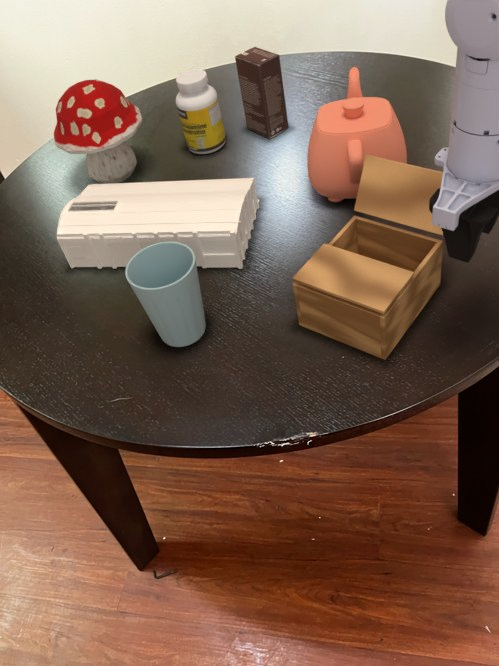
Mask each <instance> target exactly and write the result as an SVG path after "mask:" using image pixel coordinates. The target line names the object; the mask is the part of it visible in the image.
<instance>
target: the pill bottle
mask: <svg viewBox="0 0 499 666" xmlns="http://www.w3.org/2000/svg"><path fill="white" fill-rule="evenodd" d="M175 82H176V88H177V89H178V92H177V94H176V96H175V106H176V109H177V114H178V117H179V121H180V125H181V129H182V133H183V136H184V139H185V140H184V141H185V144H186V147H187V149H188V150H189V151H190V152H191V153H192V154H197V155H208V154H212V153H215V152H217V151H219V150H220V149H221V148H223V146H225V144H226V142H227V135H226V130H225V126H224V121H223V116H222V110H221V106H220V102H219V97H218V93H217V91H216V89H215V88H214V87H213V86H211V85H210V84H209V78H208V74H207V72H206V70H205V69H201V68H192V69H191V68H190V69H187V70H184V71H182V72H180V73H179V74H178V75H177V76H176V77H175Z"/></svg>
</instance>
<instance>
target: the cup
mask: <svg viewBox="0 0 499 666" xmlns="http://www.w3.org/2000/svg"><path fill="white" fill-rule="evenodd" d="M124 275H125V278H126V279H125V280H127V282H128V284H129V285H130V287H131V289H132V291H133V293H134V294H135V296H136V298H137V299H138V301H139V303H140V304H141V306H142V308H143V310H144V311H145V313H146V314H147V317H148V318H149V320H150V322H151V323H152V325H153V327H154V328H155V331H156V332H157V333H158V336H159V337H160V338H161V340H162V341H163V342H164V343H165V344H166V345H167V346H170V347H173V348H182V347H187V346H191V345H192V344H194V343H196V342H197V341H199V340H200V339H201V338H202V337H203V335H204V334H205V330H206V326H207V323H206V317H205V309H204V304H203V297H202V293H201V287H200V280H199V273H198V266H196V259H195V255H194V252H193V251H192V249H191V248H190V247H188V246H187V245H185V244H182V243H179V242H171V241H170V242H160V243H156V244H153V245H150V246H148V247H145V248H144V249H142V250H140V251H139V252H137V253H136V254H135V255H134V256H133V257H132V258H131V259H130V261H129V262H128V264H127V266H126V267H125V270H124Z"/></svg>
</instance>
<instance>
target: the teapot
mask: <svg viewBox="0 0 499 666" xmlns="http://www.w3.org/2000/svg"><path fill="white" fill-rule="evenodd" d="M360 78H361V77H360V71H359V69H358V67H356V66H353V67H351V68H350V70H349V73H348V84H347V85H348V86H347V93H346V98H345V99H339V100H334V101H330V102H328V103H325V104H323V105H322V106H321V107H319V109H318V112H317V113H316V117H315V120H314V123H313V126H312V130H311V132H310V137H309V142H308V148H307V157H306V158H307V161H306V162H307V165H306V166H307V175H308V180H309V182H310V185H311V186H312V187H313V190H315V191H316V192H317V193H318V194H319V195H321V196H323V197H327V199H328V201H330V202H332V203H338V202H341V201H343V200H344V199H346V200H347V199H352V200H353V199H357V194H358V189H359V185H360V180H361V175H362V171H363V166H364V161H365V157H366V155H371V156H375V157H379V158H384V159H388V160H392V161H397V162H401V163H405V164H408V153H407V152H408V151H407V145H406V139H405V136H404V132H403V129H402V127H401V124H400V121H399V119H398V117H397V114H396V112H395V110H394V108H393V106H392V105H391V103H390V101H389V100H388V99H386V98H384V97H379V96H363V92H362V87H361V81H360V80H361V79H360Z"/></svg>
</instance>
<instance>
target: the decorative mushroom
mask: <svg viewBox="0 0 499 666" xmlns="http://www.w3.org/2000/svg"><path fill="white" fill-rule="evenodd" d="M55 116H56V123H55V127H54V130H53V139H54V141H53V142H54V145H55V146H56V147H57V148H58V149H59V150H62V151H64V152H66V153H68V154H70V155H86V156H85V164H86V171H87V174H88V176H89V178H91V179H92V180H95V181H96V182H97V183H98V184H113V183H123V182H124V181H125V180H127V179H128V178H130V177H131V176H132V174H133V173H134V172H135V170H136V166H137V164H138V161H137V158H136V154H135V151H134V150H133V148H132V147H131V146H130V145H129V144H128V143H127V142H125V141H127V140H128V139H130V138H132V137H133V136H134V135H135V134H136V132H137V131H138V129H139V128H140V127H141V125H142V124H143V117H142V114H141V111H140V108H139V107H138V106H136V105H135V104H133V103H131V102H130V101H129V100H128V99H127V97H126V96H125V94H124V93H123V91H122V90H121V89H120V88H119V87H117V86H115V85H113V84H111V83H109V82H107V81H104V80H99V79H85V80H81V81H77V82H76V83H75V84H73V85H71V86H69V87H67V89H66V90H65V91H64V92H63V94H62V95H61V97H59V98H58V101H57V104H56V107H55Z"/></svg>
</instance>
